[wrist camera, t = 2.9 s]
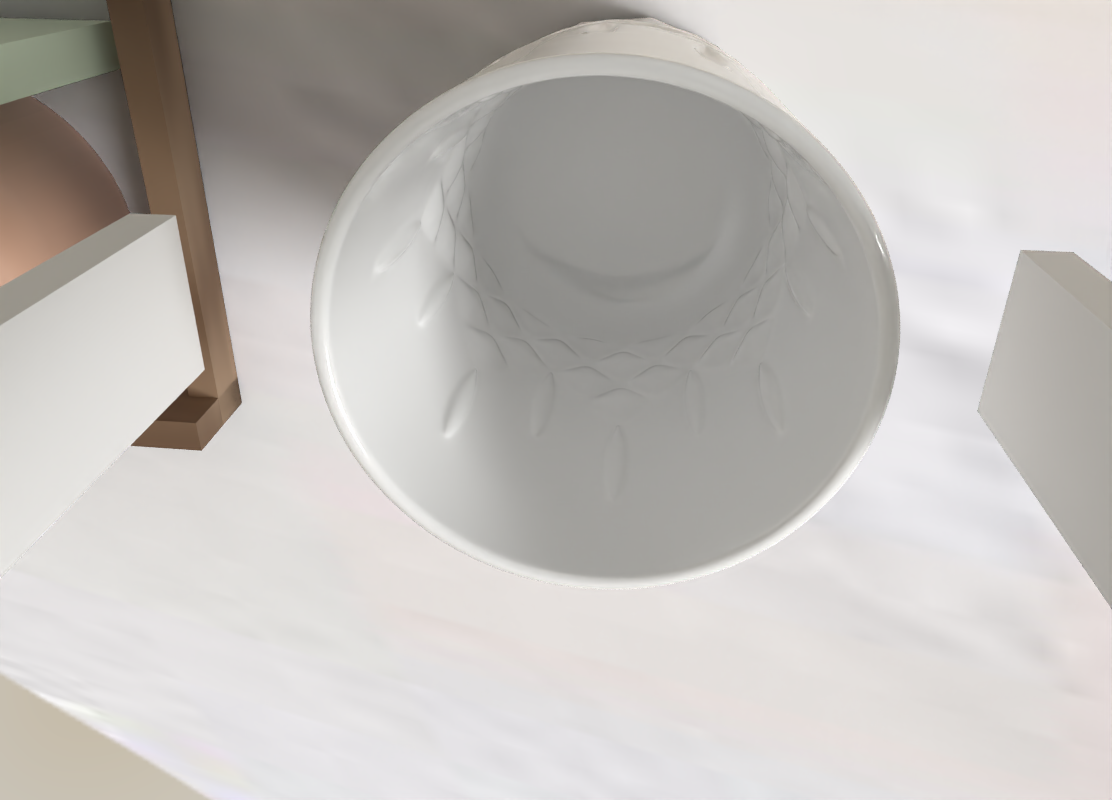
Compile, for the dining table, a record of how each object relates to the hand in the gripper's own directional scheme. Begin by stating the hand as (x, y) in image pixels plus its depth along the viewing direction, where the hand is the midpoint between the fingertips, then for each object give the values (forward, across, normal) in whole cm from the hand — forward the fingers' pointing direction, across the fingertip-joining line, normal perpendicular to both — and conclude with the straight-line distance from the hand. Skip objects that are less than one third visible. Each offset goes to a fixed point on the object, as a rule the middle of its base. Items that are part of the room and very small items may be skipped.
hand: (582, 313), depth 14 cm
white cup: (+8, 0, 0) cm, 8 cm away
